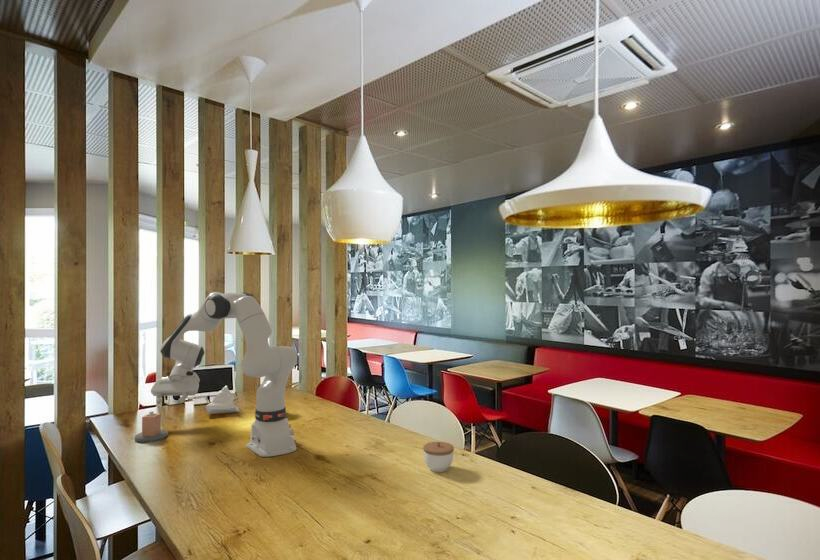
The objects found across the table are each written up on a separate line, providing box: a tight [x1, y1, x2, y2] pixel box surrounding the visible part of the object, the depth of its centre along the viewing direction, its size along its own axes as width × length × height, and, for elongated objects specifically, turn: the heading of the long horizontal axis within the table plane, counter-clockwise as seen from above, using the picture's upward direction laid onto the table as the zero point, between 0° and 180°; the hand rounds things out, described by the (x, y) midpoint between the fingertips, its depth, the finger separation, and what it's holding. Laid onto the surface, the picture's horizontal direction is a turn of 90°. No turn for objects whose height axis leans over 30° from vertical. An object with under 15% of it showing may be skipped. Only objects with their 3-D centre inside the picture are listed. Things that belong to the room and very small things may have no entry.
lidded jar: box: [423, 441, 455, 473], centre depth 160 cm, size 11×11×9 cm
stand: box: [134, 410, 168, 444], centre depth 192 cm, size 12×12×11 cm
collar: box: [141, 413, 162, 436], centre depth 192 cm, size 5×5×8 cm
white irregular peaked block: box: [205, 385, 240, 415], centre depth 231 cm, size 12×15×14 cm
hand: (169, 402), depth 205 cm, fingers open, 8 cm apart
